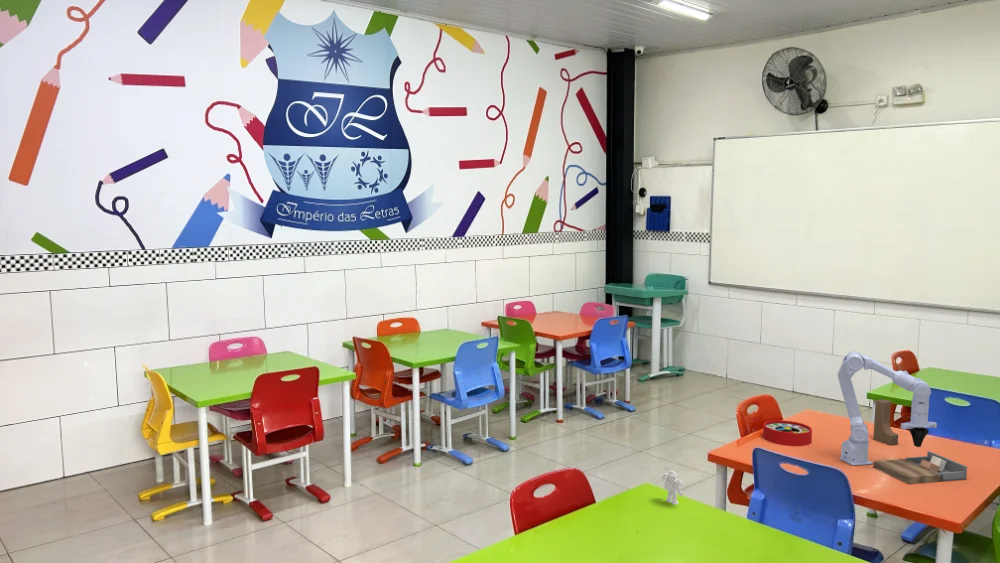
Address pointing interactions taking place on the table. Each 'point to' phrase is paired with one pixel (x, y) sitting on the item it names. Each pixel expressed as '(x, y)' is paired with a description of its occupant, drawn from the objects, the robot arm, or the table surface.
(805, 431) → the toy clock
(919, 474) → the walnut board
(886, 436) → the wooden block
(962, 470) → the gray box
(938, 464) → the cream tile
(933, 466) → the terracotta tile
